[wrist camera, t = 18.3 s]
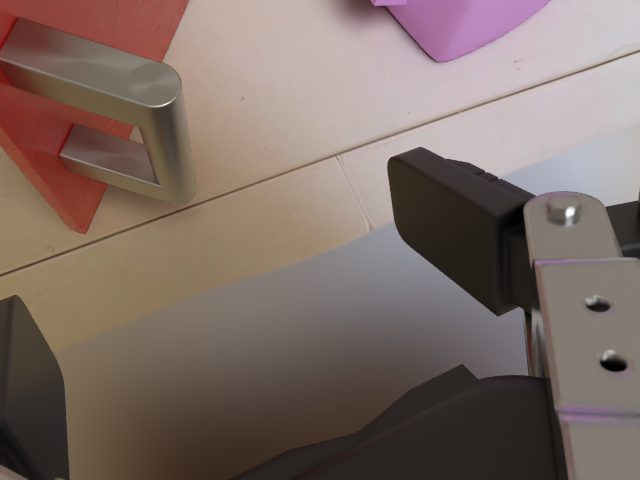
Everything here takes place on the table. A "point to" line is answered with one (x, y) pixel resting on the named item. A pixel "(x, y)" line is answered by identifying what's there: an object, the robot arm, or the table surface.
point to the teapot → (459, 22)
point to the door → (93, 101)
